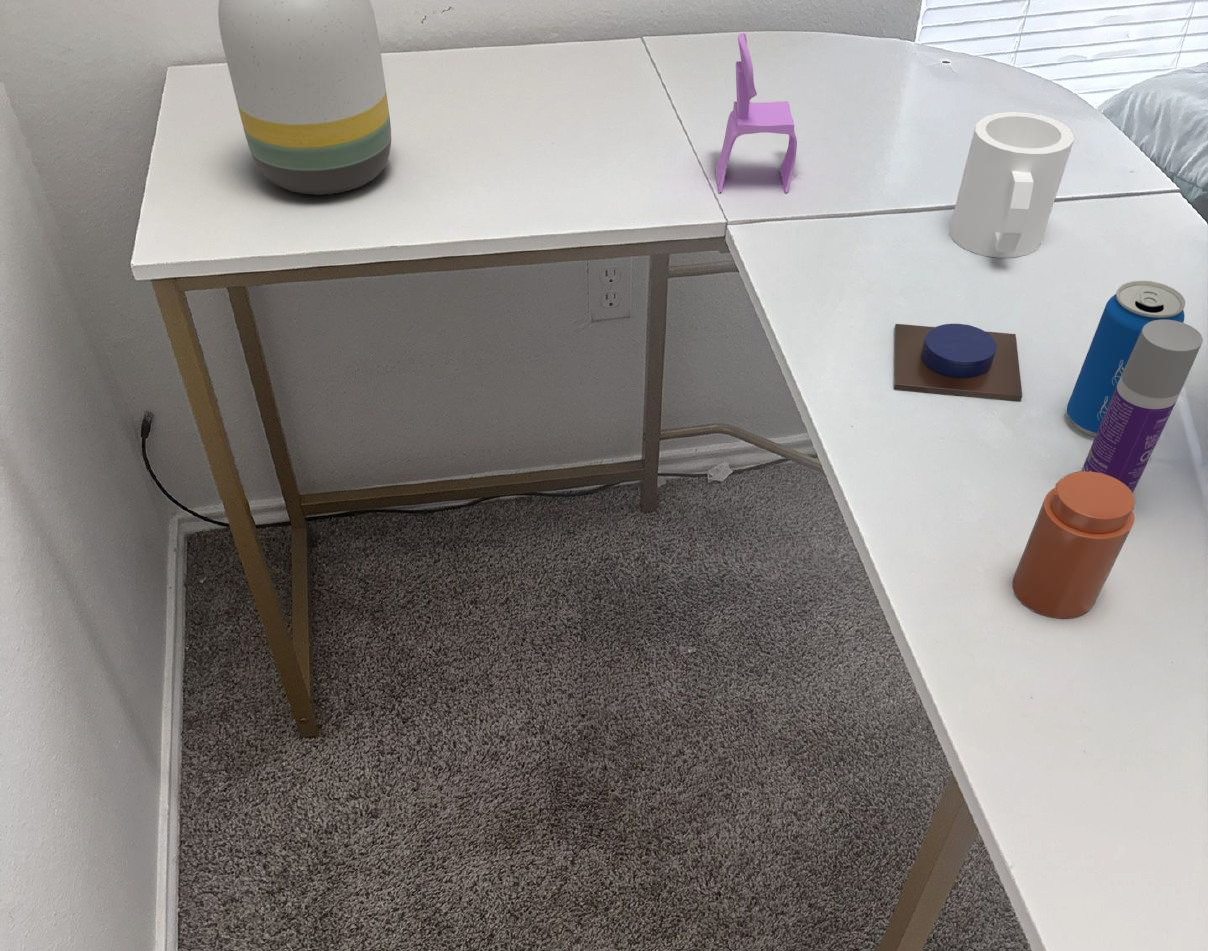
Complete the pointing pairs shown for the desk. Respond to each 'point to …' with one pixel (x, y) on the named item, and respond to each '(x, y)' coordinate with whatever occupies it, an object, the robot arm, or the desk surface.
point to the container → (1143, 400)
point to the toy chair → (755, 119)
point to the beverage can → (1118, 346)
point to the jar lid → (958, 350)
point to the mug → (1010, 183)
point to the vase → (309, 90)
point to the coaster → (920, 378)
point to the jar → (1074, 544)
